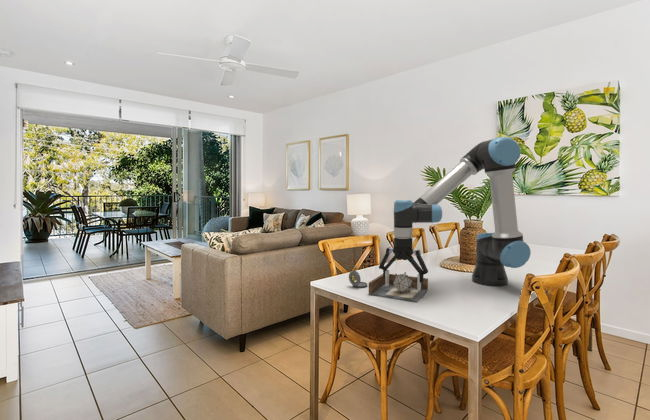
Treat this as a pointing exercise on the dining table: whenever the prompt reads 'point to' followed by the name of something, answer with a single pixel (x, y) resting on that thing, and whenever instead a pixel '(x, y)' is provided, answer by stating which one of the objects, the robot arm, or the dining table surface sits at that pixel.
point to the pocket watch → (357, 278)
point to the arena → (391, 291)
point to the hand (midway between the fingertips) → (402, 287)
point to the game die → (402, 282)
